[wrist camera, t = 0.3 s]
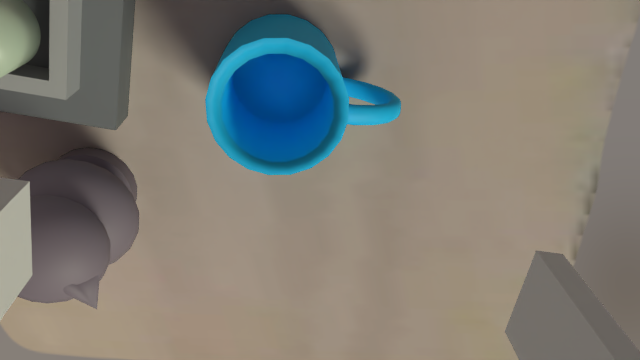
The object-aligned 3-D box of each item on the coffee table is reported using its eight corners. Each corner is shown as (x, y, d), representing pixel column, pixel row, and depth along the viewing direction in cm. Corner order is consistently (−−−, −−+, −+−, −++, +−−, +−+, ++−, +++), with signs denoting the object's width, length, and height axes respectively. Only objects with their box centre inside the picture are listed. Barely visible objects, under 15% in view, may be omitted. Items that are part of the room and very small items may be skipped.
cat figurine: (163, 156, 42) (119, 240, 31) (141, 244, 45) (94, 349, 34) (43, 122, 41) (-47, 198, 30) (29, 216, 44) (-57, 316, 33)
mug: (216, 121, 41) (199, 166, 34) (226, 4, 38) (211, 26, 31) (379, 143, 43) (398, 191, 35) (403, 32, 39) (429, 59, 32)
